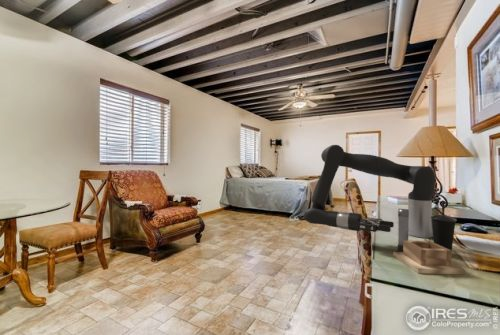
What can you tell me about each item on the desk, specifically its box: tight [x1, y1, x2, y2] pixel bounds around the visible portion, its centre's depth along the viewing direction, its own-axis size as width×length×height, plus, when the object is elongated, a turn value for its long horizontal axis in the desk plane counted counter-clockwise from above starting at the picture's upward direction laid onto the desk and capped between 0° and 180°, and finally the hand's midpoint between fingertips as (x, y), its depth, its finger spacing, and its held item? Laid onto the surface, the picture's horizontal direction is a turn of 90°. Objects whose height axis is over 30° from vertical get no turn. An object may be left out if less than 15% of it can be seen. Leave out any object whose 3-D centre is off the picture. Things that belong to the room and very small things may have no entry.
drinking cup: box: [430, 200, 458, 253], centre depth 89 cm, size 8×8×20 cm
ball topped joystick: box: [397, 208, 409, 252], centre depth 91 cm, size 4×3×17 cm
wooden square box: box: [392, 240, 466, 275], centre depth 80 cm, size 14×14×6 cm
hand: (392, 226), depth 93 cm, fingers open, 8 cm apart
